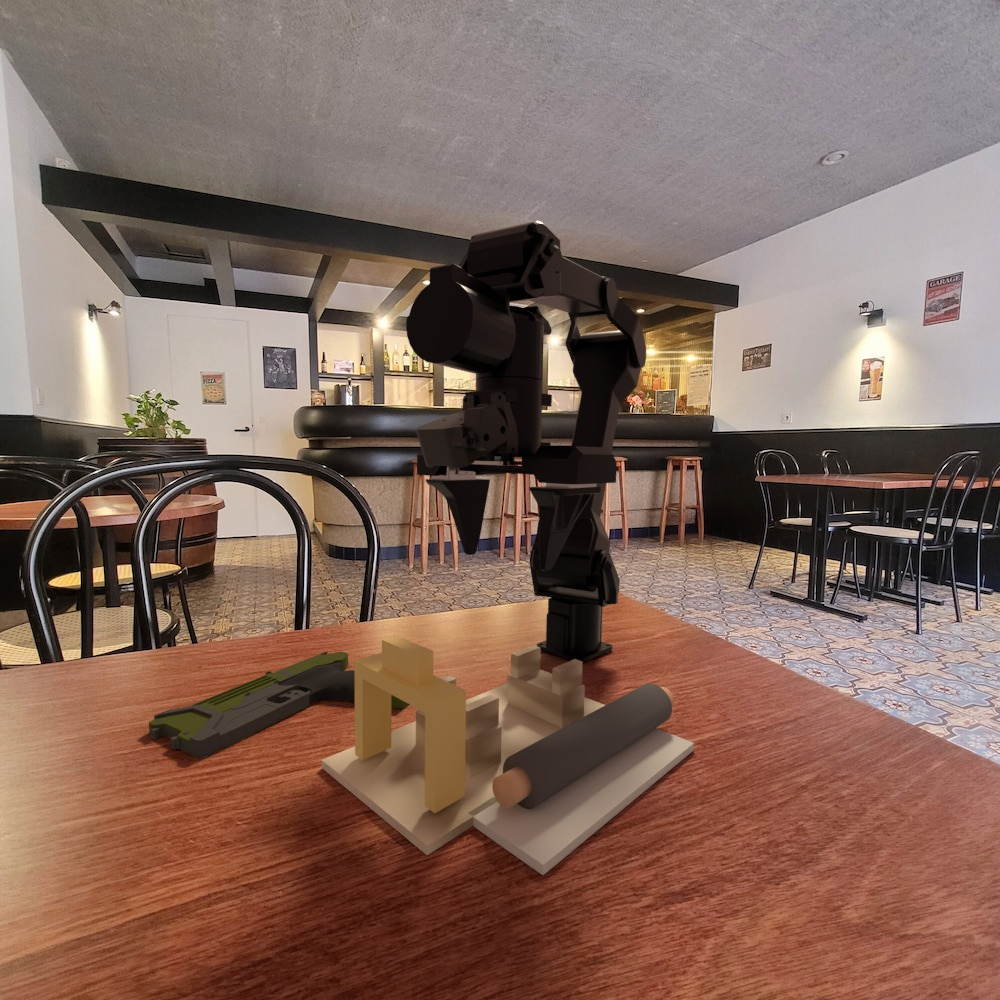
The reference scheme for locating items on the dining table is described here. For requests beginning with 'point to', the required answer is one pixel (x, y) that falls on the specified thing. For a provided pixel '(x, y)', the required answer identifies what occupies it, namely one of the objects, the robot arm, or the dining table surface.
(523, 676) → the holder
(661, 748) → the mat
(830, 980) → the dining table surface
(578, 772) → the dark grey cylinder rod
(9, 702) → the dining table surface
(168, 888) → the dining table surface
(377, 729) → the strap
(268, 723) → the gun
